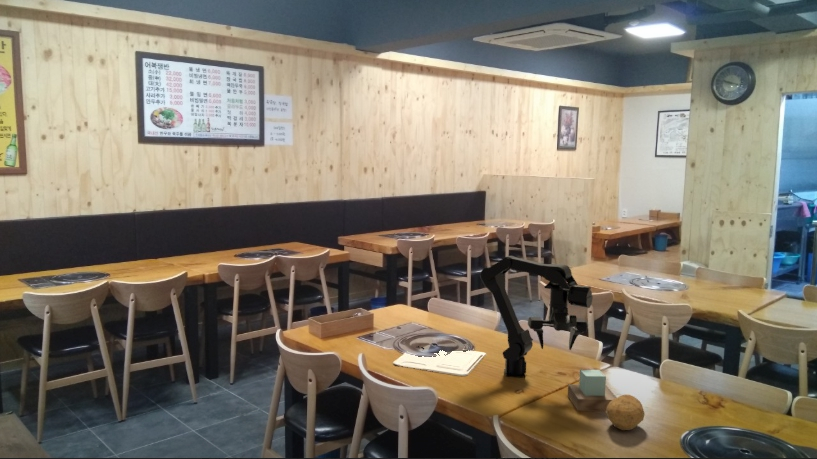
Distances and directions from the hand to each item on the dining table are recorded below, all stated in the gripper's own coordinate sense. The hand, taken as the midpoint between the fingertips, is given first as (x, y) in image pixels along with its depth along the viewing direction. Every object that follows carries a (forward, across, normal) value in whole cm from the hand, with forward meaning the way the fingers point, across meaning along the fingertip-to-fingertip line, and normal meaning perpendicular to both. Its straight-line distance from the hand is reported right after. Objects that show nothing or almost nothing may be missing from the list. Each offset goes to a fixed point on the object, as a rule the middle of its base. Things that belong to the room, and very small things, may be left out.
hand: (556, 349), depth 198 cm
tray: (+13, -37, +22) cm, 45 cm away
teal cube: (+8, +8, -16) cm, 19 cm away
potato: (+12, +12, -33) cm, 37 cm away
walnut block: (+12, +8, -16) cm, 22 cm away
